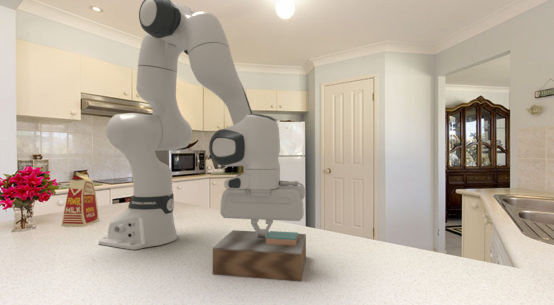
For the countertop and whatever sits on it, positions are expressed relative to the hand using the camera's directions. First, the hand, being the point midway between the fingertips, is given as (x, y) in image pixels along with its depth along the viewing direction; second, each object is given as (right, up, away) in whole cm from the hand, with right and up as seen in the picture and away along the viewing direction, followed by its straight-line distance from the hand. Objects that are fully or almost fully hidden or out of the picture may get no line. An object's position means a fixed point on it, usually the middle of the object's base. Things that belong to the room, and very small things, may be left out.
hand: (262, 237), depth 68 cm
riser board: (0, -7, 0) cm, 7 cm away
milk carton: (-72, -7, +40) cm, 83 cm away
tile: (+5, -1, -1) cm, 5 cm away
